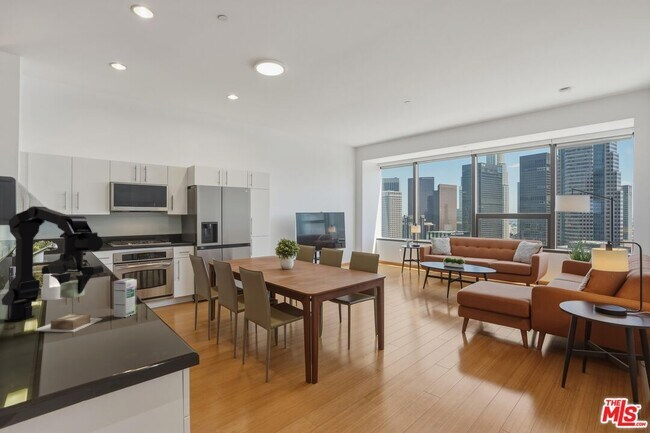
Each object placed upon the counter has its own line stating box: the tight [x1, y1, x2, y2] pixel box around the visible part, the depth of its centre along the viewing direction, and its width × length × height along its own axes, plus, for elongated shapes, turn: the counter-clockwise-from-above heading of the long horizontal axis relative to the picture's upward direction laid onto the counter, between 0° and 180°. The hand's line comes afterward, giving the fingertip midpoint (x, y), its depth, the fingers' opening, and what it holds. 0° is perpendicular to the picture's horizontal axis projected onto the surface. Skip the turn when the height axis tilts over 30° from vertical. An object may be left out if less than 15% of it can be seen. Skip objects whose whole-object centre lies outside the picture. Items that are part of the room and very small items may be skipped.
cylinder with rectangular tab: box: [40, 274, 62, 301], centre depth 155 cm, size 9×9×12 cm
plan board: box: [33, 313, 103, 333], centre depth 118 cm, size 14×14×4 cm
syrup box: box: [113, 278, 138, 318], centre depth 131 cm, size 6×6×14 cm
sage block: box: [60, 280, 86, 299], centre depth 116 cm, size 5×5×5 cm
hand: (72, 293), depth 116 cm, fingers closed on sage block, 5 cm apart
